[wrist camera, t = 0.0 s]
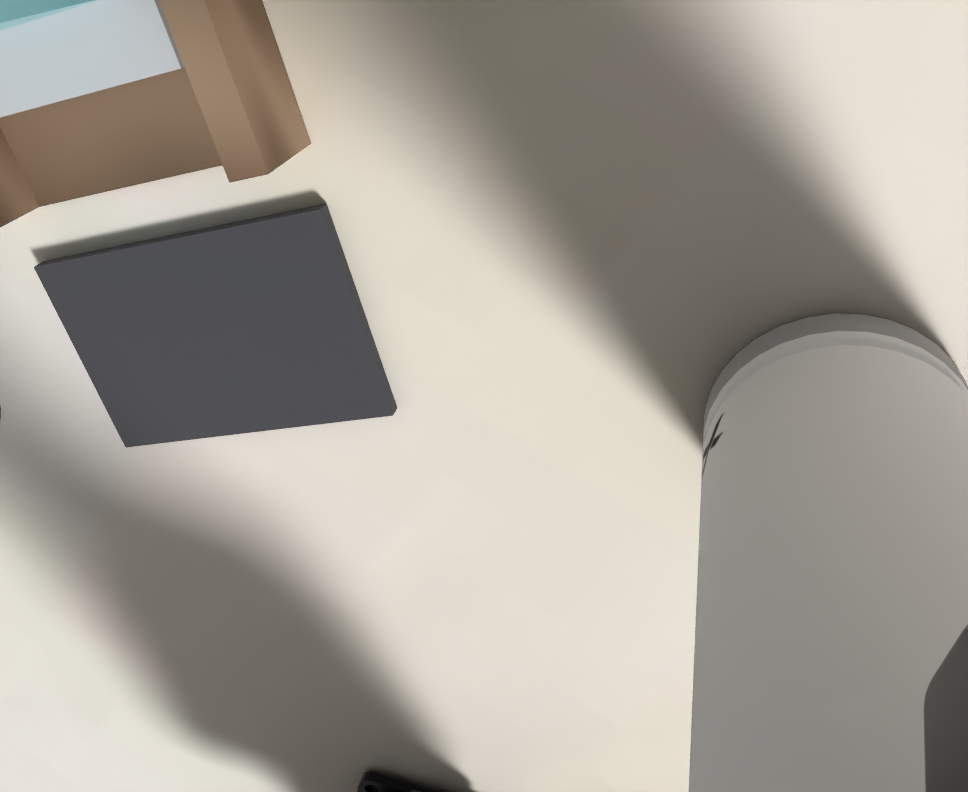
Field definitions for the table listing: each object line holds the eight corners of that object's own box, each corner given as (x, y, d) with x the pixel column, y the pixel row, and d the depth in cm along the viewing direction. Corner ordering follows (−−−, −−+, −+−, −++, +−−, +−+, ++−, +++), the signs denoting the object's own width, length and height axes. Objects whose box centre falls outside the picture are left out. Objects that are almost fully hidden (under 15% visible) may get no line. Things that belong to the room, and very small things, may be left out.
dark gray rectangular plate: (397, 408, 26) (393, 415, 26) (132, 440, 29) (125, 447, 28) (326, 203, 23) (320, 209, 23) (42, 261, 26) (33, 267, 26)
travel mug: (643, 405, 24) (452, 1676, 7) (874, 257, 21) (1464, 1918, 4) (786, 563, 26) (896, 1918, 9) (1022, 447, 22) (1893, 2231, 6)
